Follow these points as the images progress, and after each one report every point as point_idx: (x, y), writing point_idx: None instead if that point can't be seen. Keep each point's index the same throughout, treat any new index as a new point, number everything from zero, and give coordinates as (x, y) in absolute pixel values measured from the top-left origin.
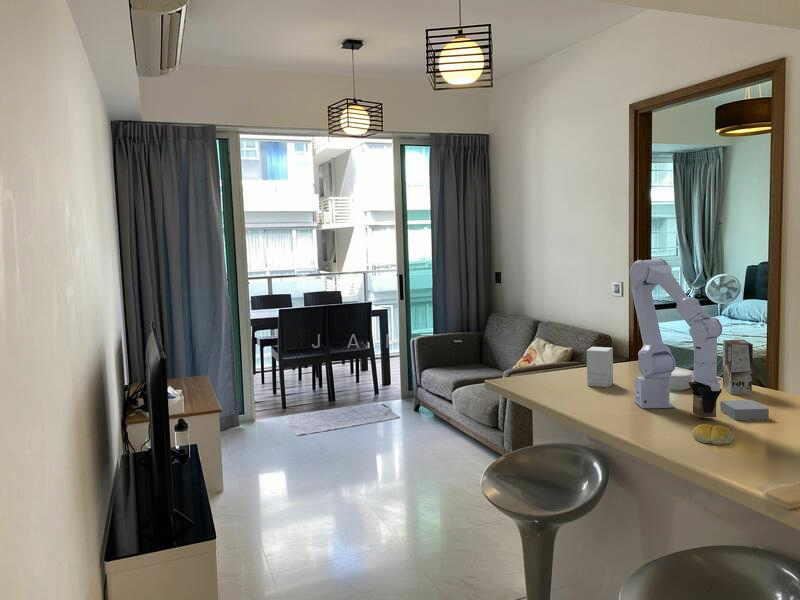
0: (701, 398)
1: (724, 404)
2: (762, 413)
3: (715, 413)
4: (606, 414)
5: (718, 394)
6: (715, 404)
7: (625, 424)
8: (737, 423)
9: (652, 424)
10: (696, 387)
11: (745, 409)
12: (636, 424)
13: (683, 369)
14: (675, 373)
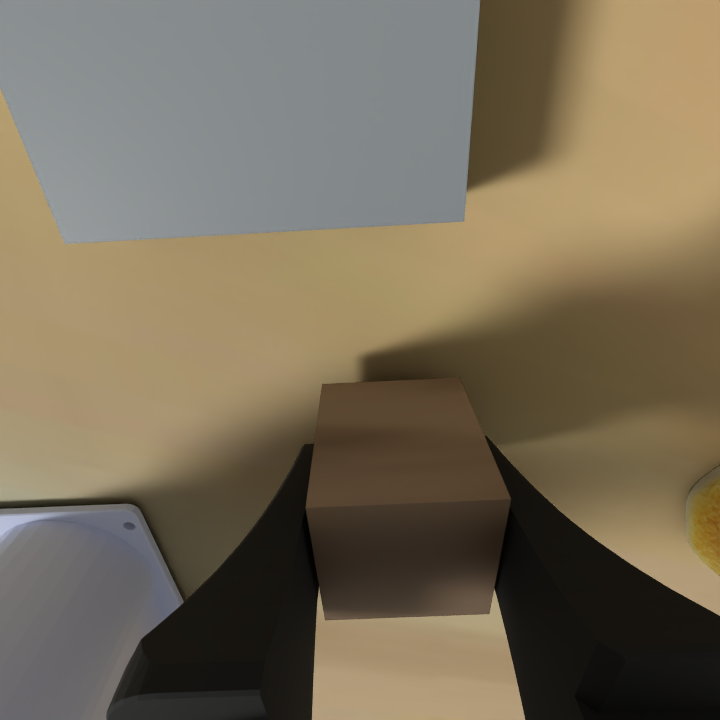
0: (442, 593)
1: (186, 234)
2: None
3: (467, 401)
4: None
5: (662, 596)
6: (492, 461)
7: (446, 685)
8: (537, 216)
9: (461, 627)
10: (304, 705)
11: (474, 65)
12: (451, 664)
13: None
14: None
